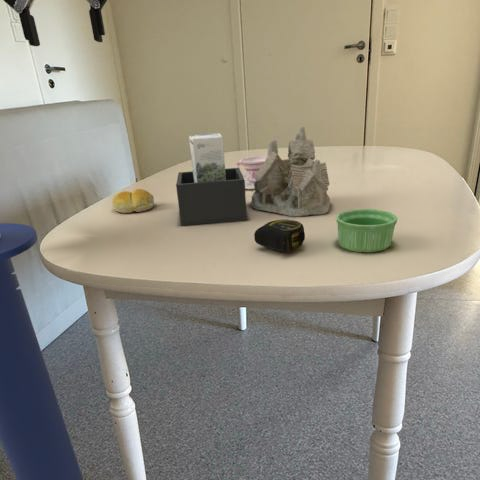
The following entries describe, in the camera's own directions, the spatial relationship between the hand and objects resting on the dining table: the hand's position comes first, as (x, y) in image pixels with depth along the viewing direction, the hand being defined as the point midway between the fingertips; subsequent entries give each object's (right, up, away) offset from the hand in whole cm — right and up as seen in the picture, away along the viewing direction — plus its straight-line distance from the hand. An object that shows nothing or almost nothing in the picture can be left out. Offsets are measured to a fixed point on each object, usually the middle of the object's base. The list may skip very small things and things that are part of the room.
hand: (67, 43), depth 68 cm
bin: (+21, -21, +22) cm, 37 cm away
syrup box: (+21, -21, +22) cm, 37 cm away
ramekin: (+46, -31, +2) cm, 55 cm away
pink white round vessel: (+31, -8, +44) cm, 55 cm away
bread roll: (+3, -18, +31) cm, 36 cm away
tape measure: (+33, -31, +2) cm, 46 cm away
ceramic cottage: (+37, -19, +24) cm, 48 cm away
